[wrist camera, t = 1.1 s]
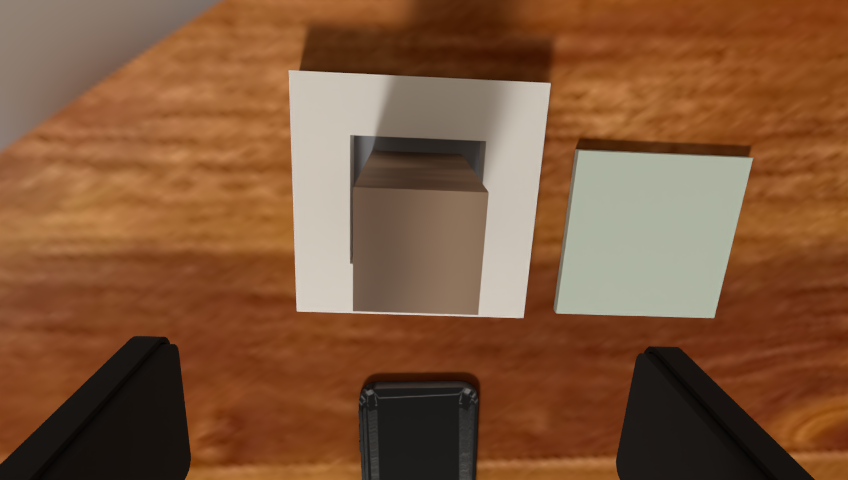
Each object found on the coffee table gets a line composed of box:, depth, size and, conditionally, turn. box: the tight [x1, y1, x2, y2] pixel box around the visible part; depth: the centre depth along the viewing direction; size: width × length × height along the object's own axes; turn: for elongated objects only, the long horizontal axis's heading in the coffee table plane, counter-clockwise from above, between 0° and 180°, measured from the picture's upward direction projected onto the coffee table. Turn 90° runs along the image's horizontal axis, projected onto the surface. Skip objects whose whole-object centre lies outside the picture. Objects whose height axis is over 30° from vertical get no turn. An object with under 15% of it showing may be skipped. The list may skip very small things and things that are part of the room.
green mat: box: [554, 149, 753, 318], centre depth 30 cm, size 10×10×1 cm
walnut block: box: [353, 150, 489, 315], centre depth 24 cm, size 5×5×10 cm
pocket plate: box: [289, 70, 551, 318], centre depth 28 cm, size 13×13×2 cm
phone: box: [359, 381, 478, 480], centre depth 35 cm, size 8×1×15 cm
